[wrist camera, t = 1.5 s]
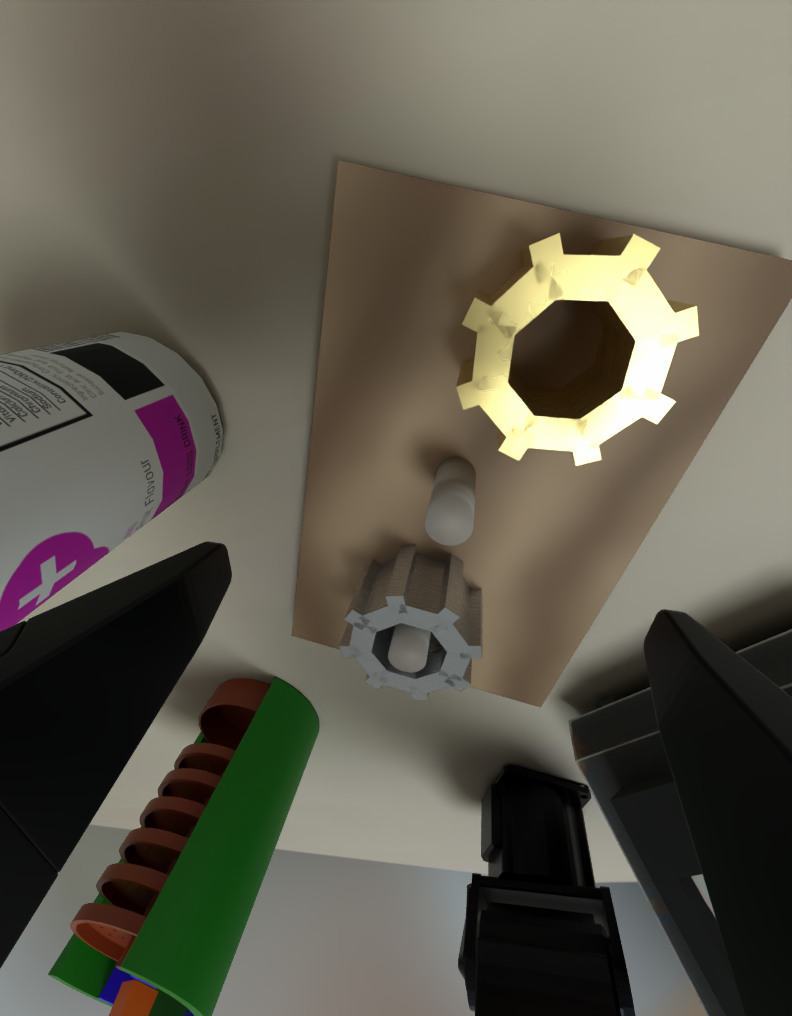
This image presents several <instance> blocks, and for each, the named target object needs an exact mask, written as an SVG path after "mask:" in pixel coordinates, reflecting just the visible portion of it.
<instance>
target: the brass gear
mask: <svg viewBox="0 0 792 1016" xmlns="http://www.w3.org/2000/svg"><path fill="white" fill-rule="evenodd" d="M660 249H661V248H659V247H657V246H656V245H654V244H652V243H650V242H648V241H646V240H644V239H643V238H641V237H639V236H637V235H635V234H631V235H626V236H620V237H615V238H610V239H604V240H600V241H599V243H598V244H597V246H596V248H595V249H594V251H593V253H592V254H591V255H564V254H563V249H562V243H561V238H560V233H558V234H555V235H553V236H550V237H548V238H545V239H543V240H540V241H538V242H536V243H533V244H531V245H529V246H526V247H524V248H521V249H520V253H521V258H522V262H523V266H522V267H521V268H520V269H519V270H518V271H517V272H516V273H515V274H514V275H513V276H512V277H511V278H509V279H508V280H507V281H506V282H505V283H504V284H503V285H502V286H501V287H500V288H499V289H498V290H497V291H496V292H495V293H493V294H492V295H491V296H488V295H486V294H484V293H482V292H481V291H479V290H477V292H476V294H475V296H474V298H473V300H472V302H471V304H470V306H469V308H468V310H467V313H466V315H465V318H464V320H463V322H462V325H464V326H466V327H468V328H470V329H472V330H474V331H476V332H477V342H476V351H475V358H472V359H469V360H467V361H464V362H462V365H461V369H460V373H459V377H458V381H457V385H456V388H457V391H458V394H459V398H460V401H461V404H462V407H463V410H464V409H467V408H471V407H474V406H477V405H480V406H481V408H482V409H483V410H484V411H485V412H486V413H487V415H488V416H489V417H490V418H491V419H492V421H493V422H494V423H495V424H496V425H497V436H498V451H500V452H502V453H504V454H506V455H508V456H510V457H512V458H514V459H517V460H520V459H521V457H522V456H523V454H524V453H525V451H526V450H527V448H536V449H548V450H559V451H570V453H571V456H572V458H573V460H574V463H575V465H576V466H578V465H582V464H586V463H590V462H594V461H598V460H601V454H600V449H599V444H601V443H602V442H604V441H606V440H607V439H609V438H610V437H612V436H613V435H615V434H616V433H618V432H619V431H621V430H622V429H624V428H625V427H627V426H629V425H630V424H632V423H633V422H635V421H636V420H638V419H639V418H641V417H644V418H646V419H648V420H650V421H652V422H654V423H656V424H658V423H659V421H660V420H661V419H662V418H663V417H664V415H665V414H666V413H667V412H668V410H669V409H670V408H671V407H672V406H673V404H674V403H675V402H676V401H675V400H673V399H672V398H671V397H669V396H668V395H667V394H665V393H664V392H663V391H662V388H663V385H664V381H665V378H666V375H667V372H668V369H669V366H670V363H671V360H672V357H673V354H674V351H675V348H676V345H677V342H680V341H683V340H686V339H689V338H692V337H695V336H699V329H698V315H697V306H695V305H691V304H686V303H681V302H676V301H672V300H667V299H665V298H664V296H663V294H662V293H661V291H660V290H659V288H658V287H657V285H656V284H655V282H654V281H653V279H652V277H651V276H650V274H649V273H648V271H647V268H648V267H649V265H650V264H651V262H652V261H653V259H654V258H655V256H656V255H657V253H658V252H659V250H660ZM555 300H584V301H588V302H589V304H590V305H591V306H592V308H593V309H594V311H595V312H596V314H597V315H598V316H599V318H600V319H601V321H602V322H603V324H604V325H603V329H602V333H601V337H600V341H599V345H598V350H597V354H596V358H595V362H594V364H593V365H592V366H590V367H589V368H588V369H586V370H585V371H584V372H582V373H581V374H580V375H578V376H577V377H576V378H574V379H573V380H572V381H570V382H569V383H567V384H566V385H565V386H563V387H562V388H554V387H539V386H525V385H524V384H523V382H522V381H521V380H520V379H519V377H518V376H517V375H516V374H515V372H514V371H513V370H512V368H511V367H510V363H511V356H512V349H513V343H514V336H515V334H517V333H518V332H519V331H520V330H521V329H522V328H524V327H525V326H526V325H527V324H528V323H529V322H530V321H532V320H533V319H534V318H535V317H536V316H537V315H539V314H540V313H541V312H542V311H543V310H544V309H546V308H547V307H548V306H549V305H550V304H551V303H553V302H554V301H555Z"/></svg>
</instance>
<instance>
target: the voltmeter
mask: <svg viewBox="0 0 792 1016" xmlns="http://www.w3.org/2000/svg"><path fill="white" fill-rule="evenodd" d="M735 653H737V654H738V655H739V656H741V657H742V658H743V659H744V660H746V661H747V662H748V663H749V664H751V665H752V666H753V667H754V668H756V669H757V670H758V671H759V672H761V673H762V674H763V675H764V676H766V677H767V678H768V679H770V680H771V681H772V682H773V683H775V684H776V685H777V686H778V687H780V688H781V689H782V690H783V691H785V692H786V693H787V694H788V695H790V696H791V697H792V629H791V630H788V631H786V632H783V633H781V634H779V635H776V636H774V637H771V638H769V639H766V640H764V641H761V642H759V643H757V644H754V645H752V646H749V647H747V648H744V649H742V650H739V651H737V652H735ZM569 727H570V733H571V738H572V744H573V750H574V755H575V761H576V763H577V765H578V767H579V769H580V771H581V773H582V775H583V777H584V778H585V780H586V782H587V784H588V786H589V788H590V790H591V792H592V794H593V796H594V798H595V800H596V802H597V804H598V806H599V807H600V809H601V811H602V813H603V815H604V817H605V819H606V821H607V823H608V825H609V827H610V829H611V831H612V833H613V834H614V836H615V838H616V840H617V842H618V844H619V846H620V848H621V850H622V852H623V854H624V856H625V858H626V860H627V862H628V863H629V865H630V867H631V869H632V871H633V873H634V875H635V877H636V879H637V881H638V883H639V885H640V887H641V888H642V890H643V892H644V894H645V896H646V898H647V900H648V902H649V904H650V906H651V908H652V910H653V912H654V914H655V915H656V917H657V919H658V921H659V923H660V925H661V927H662V929H663V931H664V933H665V935H666V937H667V939H668V941H669V943H670V945H671V946H672V948H673V950H674V952H675V954H676V956H677V958H678V960H679V962H680V964H681V966H682V968H683V970H684V971H685V974H686V976H687V977H688V979H689V981H690V983H691V985H692V987H693V989H694V991H695V993H696V995H697V997H698V999H699V1001H700V1002H701V1004H702V1006H703V1008H704V1010H705V1012H706V1014H707V1016H745V1014H744V1011H743V1007H742V1004H741V1001H740V997H739V994H738V991H737V987H736V984H735V981H734V977H733V974H732V971H731V967H730V964H729V961H728V958H727V954H726V951H725V948H724V944H723V941H722V938H721V934H720V931H719V928H718V924H717V921H716V918H715V914H714V911H713V908H712V904H711V901H710V898H709V894H708V891H707V888H706V884H705V881H704V878H703V874H702V871H701V868H700V865H699V861H698V858H697V855H696V851H695V848H694V845H693V841H692V838H691V835H690V831H689V828H688V825H687V821H686V818H685V815H684V811H683V808H682V805H681V801H680V798H679V795H678V791H677V788H676V785H675V781H674V778H673V775H672V772H671V768H670V765H669V762H668V758H667V755H666V752H665V748H664V745H663V742H662V738H661V735H660V731H659V727H658V723H657V718H656V714H655V708H654V703H653V697H652V692H651V687H649V688H647V689H644V690H642V691H640V692H637V693H635V694H632V695H630V696H628V697H625V698H620V697H615V696H610V697H608V698H605V699H603V700H600V702H599V705H598V708H597V709H596V710H594V711H591V712H589V713H586V714H584V715H581V716H579V717H577V718H574V719H572V720H569Z"/></svg>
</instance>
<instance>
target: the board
mask: <svg viewBox="0 0 792 1016" xmlns="http://www.w3.org/2000/svg"><path fill="white" fill-rule="evenodd" d="M558 233H560V238H561V243H562V249H563V254H564V255H591V254H592V253H593V251H594V249H595V248H596V246H597V244H598V243H599V241H600V240H604V239H610V238H615V237H620V236H626V235H631V234H635V235H637V236H639V237H641V238H643V239H644V240H646V241H648V242H650V243H652V244H654V245H656V246H657V247H659V248H661V249H660V250H659V252H658V253H657V255H656V256H655V258H654V259H653V261H652V262H651V264H650V265H649V267H648V268H647V271H648V273H649V274H650V276H651V277H652V279H653V281H654V282H655V284H656V285H657V287H658V288H659V290H660V291H661V293H662V294H663V296H664V298H665V299H667V300H672V301H676V302H681V303H686V304H691V305H695V306H697V315H698V329H699V336H695V337H692V338H689V339H686V340H683V341H680V342H677V345H676V348H675V351H674V354H673V357H672V360H671V363H670V366H669V369H668V372H667V375H666V378H665V381H664V385H663V388H662V391H663V392H664V393H665V394H667V395H668V396H669V397H671V398H672V399H673V400H675V401H676V402H675V403H674V404H673V406H672V407H671V408H670V409H669V410H668V412H667V413H666V414H665V415H664V417H663V418H662V419H661V420H660V421H659V423H658V424H656V423H654V422H652V421H650V420H648V419H646V418H644V417H641V418H639V419H638V420H636V421H635V422H633V423H632V424H630V425H629V426H627V427H625V428H624V429H622V430H621V431H619V432H618V433H616V434H615V435H613V436H612V437H610V438H609V439H607V440H606V441H604V442H602V443H601V444H599V449H600V454H601V460H598V461H594V462H590V463H586V464H582V465H578V466H576V465H575V463H574V460H573V458H572V456H571V453H570V451H559V450H548V449H536V448H527V450H526V451H525V453H524V454H523V456H522V457H521V459H520V460H517V459H514V458H512V457H510V456H508V455H506V454H504V453H502V452H500V451H498V436H497V425H496V424H495V423H494V422H493V421H492V419H491V418H490V417H489V416H488V415H487V413H486V412H485V411H484V410H483V409H482V408H481V406H480V405H477V406H474V407H471V408H467V409H464V410H463V407H462V404H461V401H460V398H459V394H458V391H457V388H456V385H457V381H458V377H459V373H460V369H461V365H462V362H464V361H467V360H469V359H472V358H475V351H476V342H477V332H476V331H474V330H472V329H470V328H468V327H466V326H464V325H462V322H463V320H464V318H465V315H466V313H467V310H468V308H469V306H470V304H471V302H472V300H473V298H474V296H475V294H476V292H477V290H479V291H481V292H482V293H484V294H486V295H488V296H491V295H492V294H493V293H495V292H496V291H497V290H498V289H499V288H500V287H501V286H502V285H503V284H504V283H505V282H506V281H507V280H508V279H509V278H511V277H512V276H513V275H514V274H515V273H516V272H517V271H518V270H519V269H520V268H521V267H522V266H523V262H522V258H521V253H520V249H521V248H524V247H526V246H529V245H531V244H533V243H536V242H538V241H540V240H543V239H545V238H548V237H550V236H553V235H555V234H558ZM791 298H792V260H788V259H783V258H779V257H774V256H770V255H765V254H761V253H756V252H752V251H747V250H743V249H738V248H734V247H729V246H725V245H720V244H715V243H711V242H706V241H702V240H697V239H693V238H688V237H684V236H679V235H675V234H670V233H666V232H661V231H657V230H652V229H648V228H643V227H638V226H634V225H629V224H625V223H620V222H616V221H611V220H607V219H602V218H598V217H593V216H589V215H584V214H580V213H575V212H571V211H566V210H561V209H557V208H552V207H548V206H543V205H539V204H534V203H530V202H525V201H521V200H516V199H512V198H507V197H503V196H498V195H494V194H489V193H484V192H480V191H475V190H471V189H466V188H462V187H457V186H453V185H448V184H444V183H439V182H435V181H430V180H426V179H421V178H417V177H412V176H407V175H403V174H398V173H394V172H389V171H385V170H380V169H376V168H371V167H367V166H362V165H358V164H353V163H349V162H344V161H339V160H338V167H337V177H336V187H335V197H334V208H333V218H332V228H331V238H330V248H329V259H328V269H327V279H326V289H325V299H324V310H323V320H322V330H321V340H320V350H319V361H318V371H317V381H316V391H315V401H314V412H313V422H312V432H311V442H310V452H309V463H308V473H307V483H306V493H305V503H304V514H303V524H302V534H301V544H300V554H299V564H298V575H297V585H296V595H295V605H294V615H293V626H292V636H295V637H299V638H302V639H306V640H309V641H312V642H316V643H319V644H323V645H326V646H330V647H333V648H337V649H340V647H339V645H340V642H341V640H342V637H343V635H344V632H345V629H346V627H347V624H348V621H346V620H344V618H345V616H346V613H347V611H348V608H349V606H350V603H351V601H352V598H353V596H354V593H355V591H356V588H357V586H358V583H359V581H360V578H361V576H362V573H363V571H364V568H365V567H366V565H367V564H368V563H369V562H370V561H371V559H372V558H373V559H375V560H376V561H378V562H379V563H383V562H385V561H388V560H390V559H392V558H395V557H397V556H398V554H399V551H400V547H401V545H412V544H416V545H417V550H418V553H420V554H424V555H428V556H432V557H435V558H439V559H443V560H446V559H447V558H448V557H449V556H450V555H451V554H453V555H454V556H456V557H457V558H459V559H460V560H461V561H463V562H464V571H463V577H464V578H465V580H466V581H467V583H468V584H469V586H470V587H471V589H472V588H482V595H483V655H482V659H472V670H471V684H470V685H469V687H472V688H475V689H479V690H482V691H486V692H489V693H493V694H496V695H500V696H503V697H507V698H510V699H514V700H517V701H521V702H524V703H527V704H531V705H534V706H538V707H541V706H542V705H543V703H544V701H545V700H546V698H547V696H548V695H549V693H550V692H551V690H552V688H553V687H554V685H555V683H556V682H557V680H558V678H559V677H560V675H561V674H562V672H563V670H564V669H565V667H566V665H567V664H568V662H569V661H570V659H571V657H572V656H573V654H574V652H575V651H576V649H577V647H578V646H579V644H580V643H581V641H582V639H583V638H584V636H585V634H586V633H587V631H588V630H589V628H590V626H591V625H592V623H593V621H594V620H595V618H596V617H597V615H598V613H599V612H600V610H601V608H602V607H603V605H604V603H605V602H606V600H607V599H608V597H609V595H610V594H611V592H612V590H613V589H614V587H615V586H616V584H617V582H618V581H619V579H620V577H621V576H622V574H623V572H624V571H625V569H626V568H627V566H628V564H629V563H630V561H631V559H632V558H633V556H634V555H635V553H636V551H637V550H638V548H639V546H640V545H641V543H642V541H643V540H644V538H645V537H646V535H647V533H648V532H649V530H650V528H651V527H652V525H653V524H654V522H655V520H656V519H657V517H658V515H659V514H660V512H661V510H662V509H663V507H664V506H665V504H666V502H667V501H668V499H669V497H670V496H671V494H672V493H673V491H674V489H675V488H676V486H677V484H678V483H679V481H680V480H681V478H682V476H683V475H684V473H685V471H686V470H687V468H688V466H689V465H690V463H691V462H692V460H693V458H694V457H695V455H696V453H697V452H698V450H699V449H700V447H701V445H702V444H703V442H704V440H705V439H706V437H707V435H708V434H709V432H710V431H711V429H712V427H713V426H714V424H715V422H716V421H717V419H718V418H719V416H720V414H721V413H722V411H723V409H724V408H725V406H726V404H727V403H728V401H729V400H730V398H731V396H732V395H733V393H734V391H735V390H736V388H737V387H738V385H739V383H740V382H741V380H742V378H743V377H744V375H745V373H746V372H747V370H748V369H749V367H750V365H751V364H752V362H753V360H754V359H755V357H756V356H757V354H758V352H759V351H760V349H761V347H762V346H763V344H764V343H765V341H766V339H767V338H768V336H769V334H770V333H771V331H772V329H773V328H774V326H775V325H776V323H777V321H778V320H779V318H780V316H781V315H782V313H783V312H784V310H785V308H786V307H787V305H788V303H789V302H790V300H791ZM603 325H604V324H603V322H602V321H601V319H600V318H599V316H598V315H597V314H596V312H595V311H594V309H593V308H592V306H591V305H590V304H589V302H588V301H584V300H555V301H554V302H553V303H551V304H550V305H549V306H548V307H547V308H546V309H544V310H543V311H542V312H541V313H540V314H539V315H537V316H536V317H535V318H534V319H533V320H532V321H530V322H529V323H528V324H527V325H526V326H525V327H524V328H522V329H521V330H520V331H519V332H518V333H517V334H515V336H514V343H513V349H512V356H511V363H510V367H511V368H512V370H513V371H514V372H515V374H516V375H517V376H518V377H519V379H520V380H521V381H522V382H523V384H524V385H525V386H539V387H554V388H562V387H563V386H565V385H566V384H567V383H569V382H570V381H572V380H573V379H574V378H576V377H577V376H578V375H580V374H581V373H582V372H584V371H585V370H586V369H588V368H589V367H590V366H592V365H593V364H594V362H595V358H596V354H597V350H598V345H599V341H600V337H601V333H602V329H603ZM430 635H431V631H428V630H424V629H421V628H417V627H414V626H410V625H406V624H403V623H400V624H397V625H395V629H394V633H393V637H392V641H391V645H390V649H389V653H388V659H389V661H390V663H391V664H392V665H393V666H394V667H395V668H397V669H399V670H401V671H404V672H417V671H420V670H422V669H423V668H424V667H425V665H426V661H427V655H428V648H429V641H430Z"/></svg>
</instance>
